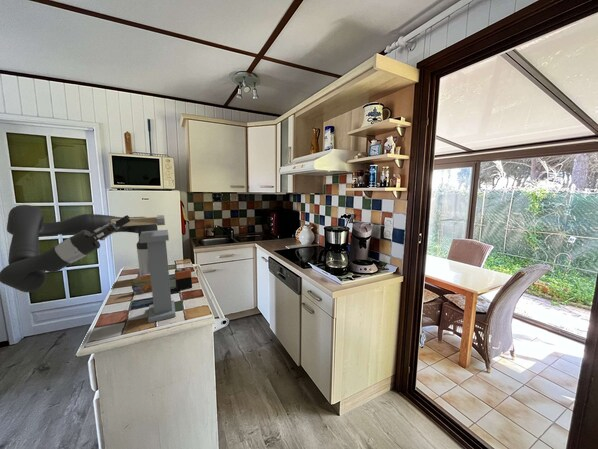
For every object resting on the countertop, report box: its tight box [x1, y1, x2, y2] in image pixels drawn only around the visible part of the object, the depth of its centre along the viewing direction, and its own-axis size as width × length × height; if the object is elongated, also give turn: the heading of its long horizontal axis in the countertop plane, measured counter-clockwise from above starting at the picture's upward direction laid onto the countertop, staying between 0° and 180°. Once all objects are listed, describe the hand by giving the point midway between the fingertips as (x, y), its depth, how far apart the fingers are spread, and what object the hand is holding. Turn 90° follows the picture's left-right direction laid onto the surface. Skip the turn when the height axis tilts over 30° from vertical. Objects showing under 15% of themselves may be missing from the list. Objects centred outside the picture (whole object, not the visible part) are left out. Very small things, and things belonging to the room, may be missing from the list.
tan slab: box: [111, 214, 166, 227], centre depth 91 cm, size 10×16×2 cm, turn 118°
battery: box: [174, 266, 193, 291], centre depth 122 cm, size 4×7×10 cm, turn 123°
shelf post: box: [138, 229, 177, 324], centre depth 97 cm, size 12×9×32 cm
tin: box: [131, 274, 152, 295], centre depth 119 cm, size 15×3×8 cm, turn 123°
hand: (128, 218), depth 90 cm, fingers closed on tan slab, 2 cm apart
